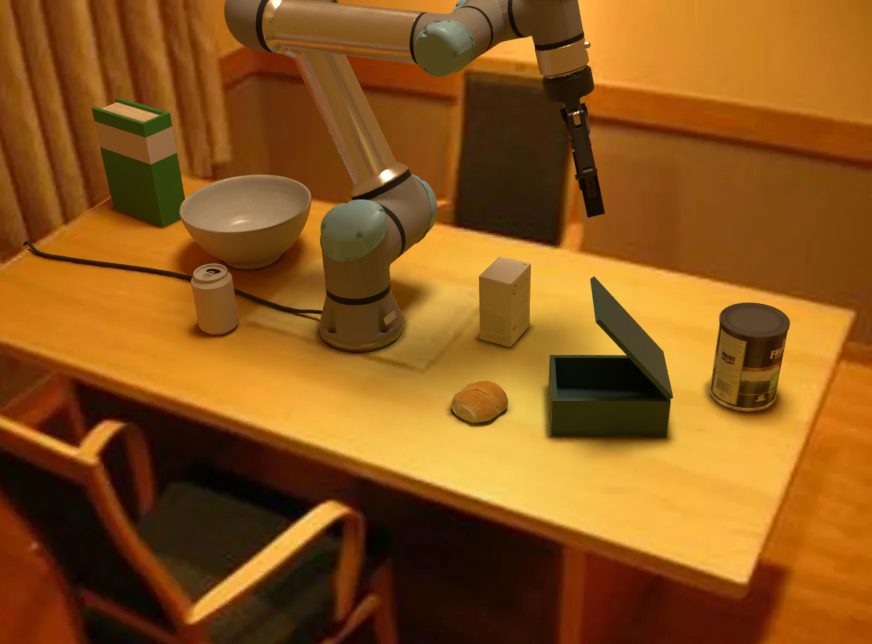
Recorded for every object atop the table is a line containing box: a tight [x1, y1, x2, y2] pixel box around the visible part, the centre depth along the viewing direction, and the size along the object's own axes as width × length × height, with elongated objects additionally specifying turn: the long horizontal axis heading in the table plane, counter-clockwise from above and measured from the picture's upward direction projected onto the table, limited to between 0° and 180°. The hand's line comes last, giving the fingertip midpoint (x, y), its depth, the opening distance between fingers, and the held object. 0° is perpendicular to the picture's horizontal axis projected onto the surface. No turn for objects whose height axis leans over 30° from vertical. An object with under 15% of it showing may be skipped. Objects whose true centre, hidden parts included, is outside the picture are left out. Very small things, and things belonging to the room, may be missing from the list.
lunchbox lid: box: [589, 275, 674, 400], centre depth 164 cm, size 18×13×1 cm
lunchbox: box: [547, 354, 672, 438], centre depth 170 cm, size 18×13×7 cm
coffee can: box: [709, 302, 791, 412], centre depth 170 cm, size 10×10×14 cm
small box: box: [478, 256, 532, 348], centre depth 190 cm, size 8×6×13 cm
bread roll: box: [450, 380, 509, 424], centre depth 174 cm, size 8×9×4 cm
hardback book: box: [91, 96, 186, 229], centre depth 238 cm, size 18×7×24 cm, turn 49°
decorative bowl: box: [179, 174, 313, 270], centre depth 221 cm, size 27×27×12 cm
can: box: [190, 263, 240, 336], centre depth 199 cm, size 8×8×12 cm
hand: (592, 201), depth 172 cm, fingers open, 13 cm apart
